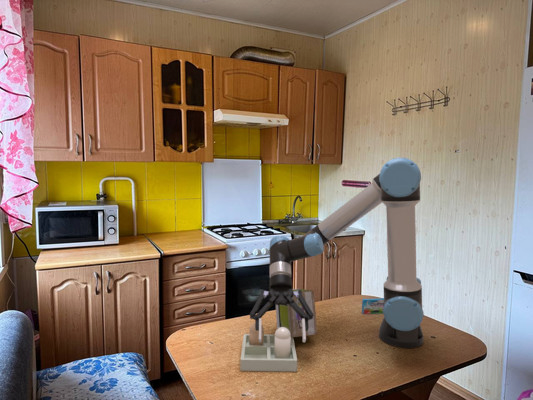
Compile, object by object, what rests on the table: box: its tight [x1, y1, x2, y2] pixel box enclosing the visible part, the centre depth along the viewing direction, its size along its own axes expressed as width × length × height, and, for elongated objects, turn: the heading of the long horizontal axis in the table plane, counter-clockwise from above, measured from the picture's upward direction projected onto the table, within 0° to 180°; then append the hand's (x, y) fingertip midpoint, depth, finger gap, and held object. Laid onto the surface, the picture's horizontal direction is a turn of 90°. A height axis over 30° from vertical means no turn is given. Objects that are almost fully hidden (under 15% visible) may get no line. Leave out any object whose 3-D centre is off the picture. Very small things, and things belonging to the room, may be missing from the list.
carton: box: [240, 322, 298, 373], centre depth 120 cm, size 17×17×9 cm
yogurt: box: [361, 297, 384, 315], centre depth 157 cm, size 12×2×6 cm, turn 98°
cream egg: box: [274, 327, 291, 359], centre depth 116 cm, size 5×5×10 cm
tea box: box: [275, 288, 318, 338], centre depth 135 cm, size 15×10×15 cm
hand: (282, 341), depth 114 cm, fingers open, 13 cm apart
